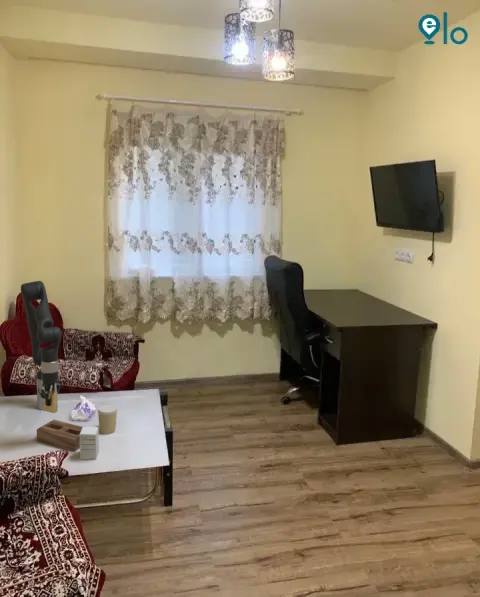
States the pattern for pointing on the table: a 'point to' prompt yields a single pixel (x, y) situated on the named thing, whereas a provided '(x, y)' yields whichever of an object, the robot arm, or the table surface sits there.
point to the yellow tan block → (52, 403)
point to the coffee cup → (107, 419)
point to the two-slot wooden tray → (60, 435)
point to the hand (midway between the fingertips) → (50, 404)
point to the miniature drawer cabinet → (89, 443)
